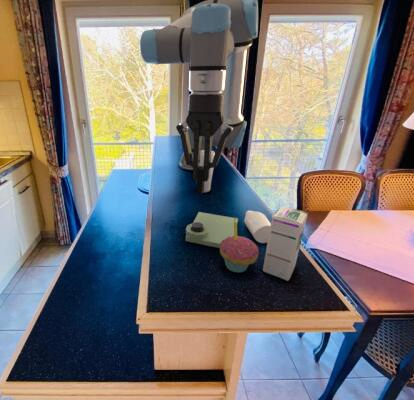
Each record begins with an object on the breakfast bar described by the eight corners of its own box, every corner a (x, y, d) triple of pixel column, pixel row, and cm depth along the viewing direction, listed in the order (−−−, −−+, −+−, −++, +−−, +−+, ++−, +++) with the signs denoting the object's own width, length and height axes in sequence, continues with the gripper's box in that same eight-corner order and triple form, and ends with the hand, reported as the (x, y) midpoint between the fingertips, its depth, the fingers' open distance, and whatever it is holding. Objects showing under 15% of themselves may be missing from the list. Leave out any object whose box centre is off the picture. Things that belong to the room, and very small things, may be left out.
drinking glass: (193, 192, 99) (195, 154, 93) (195, 186, 105) (197, 149, 99) (211, 194, 98) (214, 155, 91) (212, 187, 104) (215, 150, 97)
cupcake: (210, 265, 62) (214, 221, 56) (230, 250, 67) (236, 208, 62) (243, 284, 56) (252, 236, 51) (262, 265, 61) (271, 221, 56)
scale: (197, 215, 84) (197, 207, 82) (237, 222, 79) (238, 213, 78) (183, 241, 71) (183, 232, 69) (230, 251, 66) (232, 241, 65)
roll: (258, 220, 81) (260, 203, 78) (274, 242, 70) (278, 224, 67) (238, 220, 80) (240, 204, 78) (252, 243, 70) (255, 225, 67)
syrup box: (288, 282, 57) (304, 223, 50) (260, 271, 60) (272, 215, 54) (294, 267, 61) (309, 212, 54) (268, 258, 64) (279, 204, 58)
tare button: (193, 226, 73) (193, 221, 72) (203, 228, 72) (204, 223, 71) (190, 231, 70) (190, 226, 69) (201, 233, 69) (201, 228, 68)
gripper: (172, 93, 56) (171, 194, 67) (234, 94, 52) (223, 202, 62) (182, 91, 62) (179, 183, 73) (239, 92, 58) (228, 189, 69)
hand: (200, 191), depth 68 cm, fingers closed
